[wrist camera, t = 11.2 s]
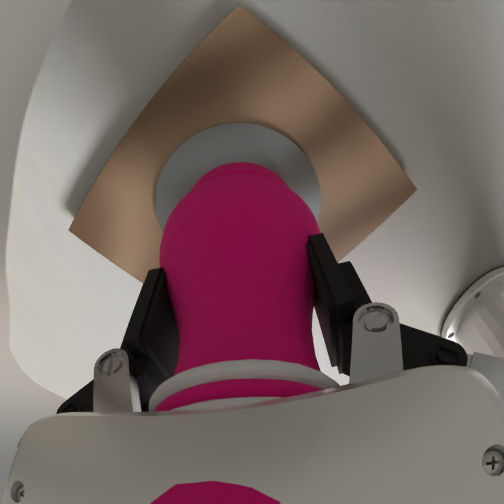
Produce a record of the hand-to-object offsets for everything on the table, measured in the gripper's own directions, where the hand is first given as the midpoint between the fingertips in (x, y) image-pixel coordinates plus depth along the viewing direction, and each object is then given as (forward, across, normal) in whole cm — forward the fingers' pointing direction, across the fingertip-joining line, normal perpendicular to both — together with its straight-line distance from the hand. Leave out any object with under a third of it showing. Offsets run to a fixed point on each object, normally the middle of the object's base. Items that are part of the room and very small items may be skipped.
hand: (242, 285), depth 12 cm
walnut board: (+9, 0, 0) cm, 9 cm away
